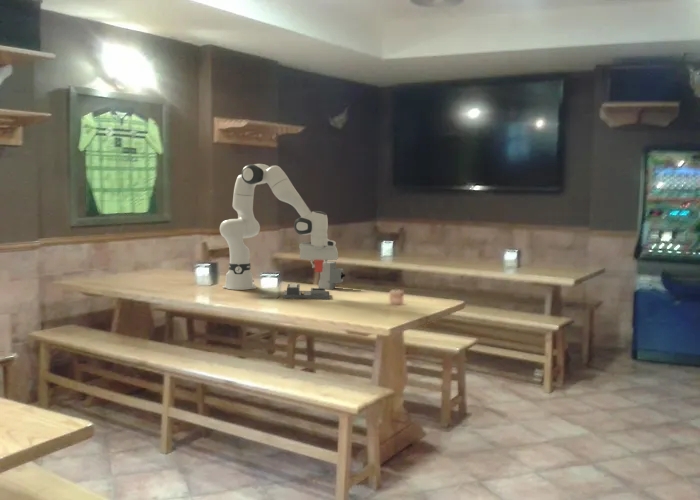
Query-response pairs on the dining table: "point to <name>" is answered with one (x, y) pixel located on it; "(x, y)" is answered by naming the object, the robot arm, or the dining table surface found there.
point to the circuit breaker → (330, 276)
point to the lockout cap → (318, 265)
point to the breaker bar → (293, 286)
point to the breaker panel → (305, 293)
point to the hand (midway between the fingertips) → (318, 268)
